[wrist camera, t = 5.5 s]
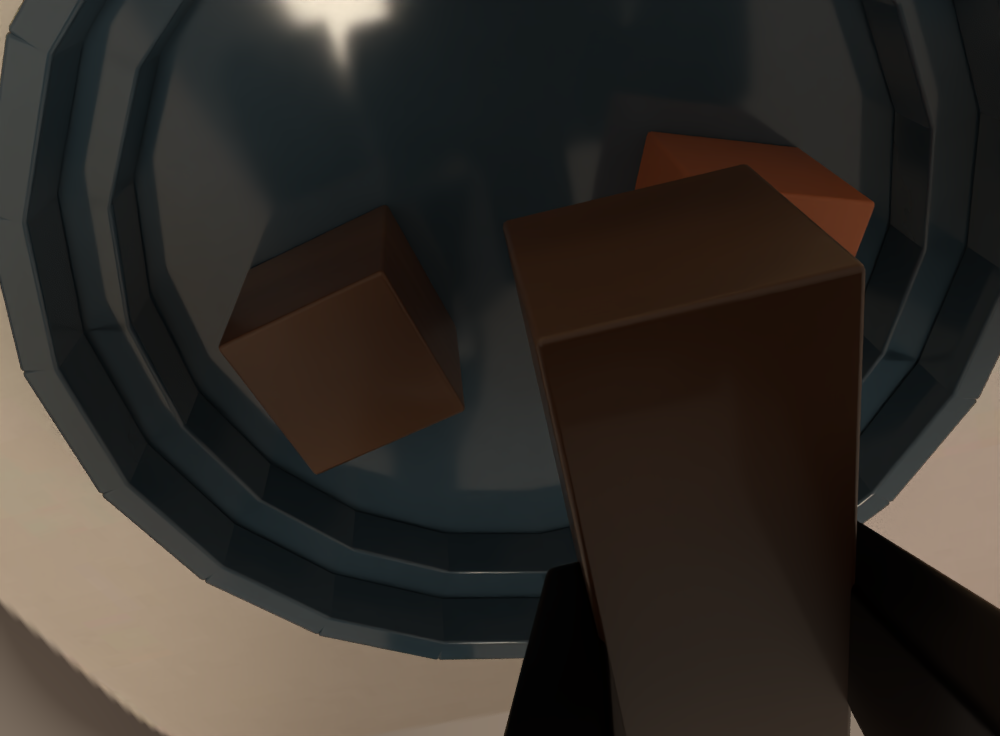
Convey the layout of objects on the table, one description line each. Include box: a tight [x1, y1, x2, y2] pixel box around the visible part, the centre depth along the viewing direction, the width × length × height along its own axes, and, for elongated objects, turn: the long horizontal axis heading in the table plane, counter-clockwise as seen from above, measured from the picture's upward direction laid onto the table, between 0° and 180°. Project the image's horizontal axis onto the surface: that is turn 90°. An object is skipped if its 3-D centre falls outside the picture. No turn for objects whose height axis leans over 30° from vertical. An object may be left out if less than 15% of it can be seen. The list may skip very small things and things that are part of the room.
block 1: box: [219, 205, 465, 474], centre depth 15 cm, size 3×3×3 cm
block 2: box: [635, 132, 875, 257], centre depth 15 cm, size 3×3×3 cm
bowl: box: [0, 0, 1000, 660], centre depth 15 cm, size 17×17×3 cm
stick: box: [503, 164, 865, 736], centre depth 9 cm, size 8×2×2 cm, turn 12°
